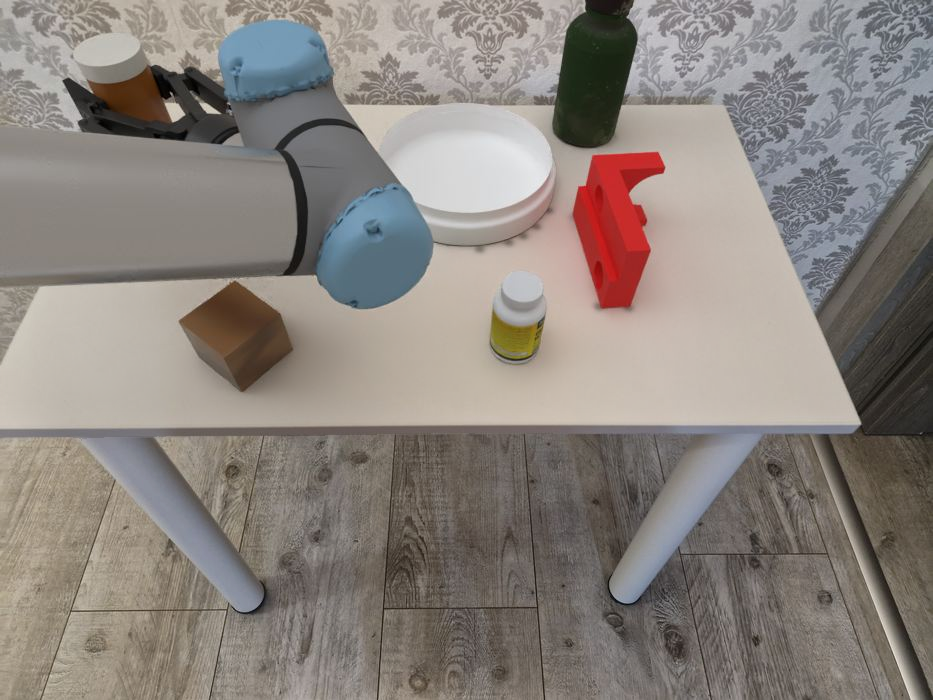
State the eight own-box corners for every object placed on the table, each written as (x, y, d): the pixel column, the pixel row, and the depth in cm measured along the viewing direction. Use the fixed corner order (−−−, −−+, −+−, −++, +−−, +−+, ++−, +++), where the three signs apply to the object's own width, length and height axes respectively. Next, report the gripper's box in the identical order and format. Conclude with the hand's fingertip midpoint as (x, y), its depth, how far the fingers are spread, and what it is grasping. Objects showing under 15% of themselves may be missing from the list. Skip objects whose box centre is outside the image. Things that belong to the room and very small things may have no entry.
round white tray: (556, 251, 86) (562, 221, 81) (364, 242, 86) (359, 212, 82) (549, 133, 102) (554, 103, 97) (386, 126, 102) (383, 95, 97)
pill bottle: (540, 366, 74) (552, 308, 65) (489, 365, 74) (494, 307, 65) (537, 326, 78) (549, 265, 69) (488, 324, 78) (494, 264, 69)
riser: (241, 392, 71) (223, 358, 66) (198, 356, 74) (177, 320, 68) (293, 349, 75) (280, 313, 69) (250, 316, 78) (234, 279, 72)
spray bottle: (546, 141, 100) (570, -23, 80) (558, 106, 106) (584, -56, 86) (609, 154, 99) (650, -11, 78) (618, 117, 105) (658, -45, 84)
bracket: (584, 155, 82) (658, 151, 83) (572, 214, 90) (639, 210, 91) (618, 252, 72) (702, 246, 72) (601, 308, 80) (676, 302, 81)
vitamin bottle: (126, 168, 66) (76, 71, 58) (118, 136, 70) (69, 40, 61) (185, 153, 68) (145, 57, 59) (174, 122, 71) (135, 27, 62)
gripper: (168, 251, 56) (35, 149, 65) (321, 153, 65) (187, 73, 73) (134, 186, 50) (-8, 82, 58) (308, 87, 59) (163, 8, 67)
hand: (101, 77), depth 66 cm, fingers closed on vitamin bottle, 6 cm apart
